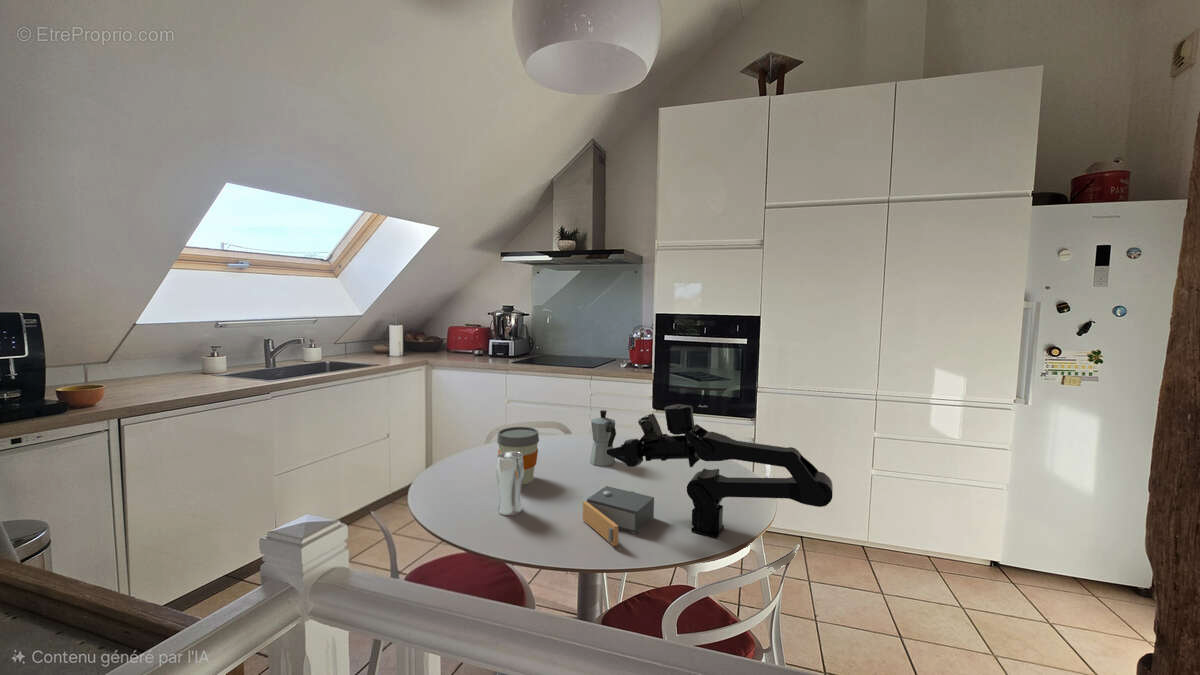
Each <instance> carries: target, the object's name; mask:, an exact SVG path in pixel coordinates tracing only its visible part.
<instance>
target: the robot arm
mask: <svg viewBox="0 0 1200 675" xmlns="http://www.w3.org/2000/svg"><path fill="white" fill-rule="evenodd" d="M664 415H665V421H666V428H667V431H668V432H669V433H670V434H672V435H669V434H667V433H663V432H662V429H661V426H660V424H659V422H658V420H657V417H656V415H655V413H650V414H648V415H644V416H643V417H641V418H639V419H638V422H637V423H638V425H639V427H641V430H642V432H643V435H642V436H641V438H640V439H638V438H631V439H627V440H625V441H624V442H623V443H622V444H621V445H620V446H617V447H613V448H612V449H608V450H607V454H608V455H610V456H612V457H614V458H615V460H616V459H617V460H618V461H620V462H622V463H624V464H625V465H626V466H627V467H629V468H630V467H632V468H633V467H635V468H636V467H637V466H639V465H641V464H642V463H643V461H644V459H645V462H651V461H653V460H660V461H661V462H662V461H663V462H664V461H665V462H666V461H667V460H684V459H685V460H688V465H689V467H690V468H693V467H694V465H695V464H696V463H697V462H699V461H700V460H702V461H704V462H721V461H728V460H731V461H732V460H736V461H740V462H741V461H742V462H749V463H756V464H763V465H769V466H775V467H780V468H785V469H786V471H788V472H789V474H790V475H791V476H790V477H728V476H724V475H722V474H720V469H719V468H716V469H715V468H714V469H708V468H707V469H706V468H703V469H702V470H700V471H698V472H696V473H695V474H694V476H692V478H691V479H690V480H689V481H688V483H687V485H686V493H687V495H688V497H689V499H690V500H691V502H692V504H693V507H694V508H692V510H691V526H692V528H691V529H690V531H691V532H692V533H697V534H700V535H703V536H707V537H712V538H715V539H717V538H719V536H720V535H721V533H722V532H723V530H724V529H725V525H724V524H723V516H724V514H723V513H724V505H722V504H721V502H722V500H723V499H724V498H748V499H749V498H750V499H751V498H753V499H754V498H755V499H756V498H757V499H788V500H792V501H794V502H797V503H800V504H802V505H806V506H811V507H818V508H822V507H826V506H828V504H830V503H831V502H832V499H833V481H832V479H831V478H830V477H829V476H828V475H827V474H826V473H825V472H822V471H819V469H817V467H816V466H815V465H814V464H813V463H811V461H809V460H808V459H807V458H805V457H804V456H803V455H802V454H801V452H800V451H799V450H798V449H797V448H795V447H793V446H792V447H791V446H789V447H784V446H777V445H771V444H770V445H769V444H764V443H763V444H762V443H757V442H756V443H755V442H748V441H743V440H742V441H741V440H736V439H733V438H731V437H729V436H728V435H725V434H722V433H719V432H715V431H708V430H707V429H705V428H704V427H702V426H700V425H699V424H696V423H695V421H694V408H693V405H687V404H681V403H678V404H671V405H667V406H664ZM644 457H645V458H644Z"/></svg>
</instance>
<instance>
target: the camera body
mask: <svg viewBox="0 0 1200 675" xmlns="http://www.w3.org/2000/svg"><path fill="white" fill-rule="evenodd" d="M586 501H587V502H588V503H589V504H591V505H592V506H593V507H595V508H596V509H597V510H598V511H600V512H601V513H602V514H604V515H605V516H606V517H608V518H609V519H610V520H611V521H613V522H614V523H615V524H617V525H618V530H620V531H621V530H622V531H625V532H629V533H632V534H636V535H637V534H639V532H640V531H642V529H644V528H645V527H647V525H648V524H649V523H650V522H651V521H652V520H653V519H654V516H655V514H654V511H655V509H654V508H655V497H654V496H651V495H647V494H642V493H637V492H635V491H629V490H624V489H620V488H616V487H613V486H608V485H606V486H604V487H602V488H601V489H600V490H597V492H595V493H594V494H592V495H591V496H589V497H588V498H587V499H586Z"/></svg>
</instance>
